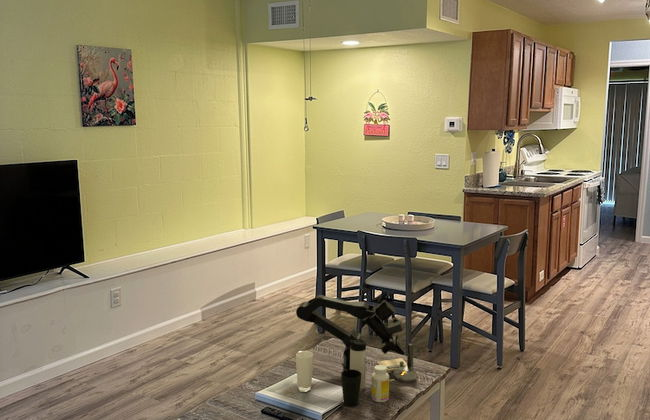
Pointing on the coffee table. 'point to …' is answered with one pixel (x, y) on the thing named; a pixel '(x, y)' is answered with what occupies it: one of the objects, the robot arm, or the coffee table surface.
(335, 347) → the coffee table surface
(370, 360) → the coffee table surface
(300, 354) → the drinking glass
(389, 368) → the stand
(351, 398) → the cup
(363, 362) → the travel mug
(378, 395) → the supplement bottle
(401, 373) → the grey piece
